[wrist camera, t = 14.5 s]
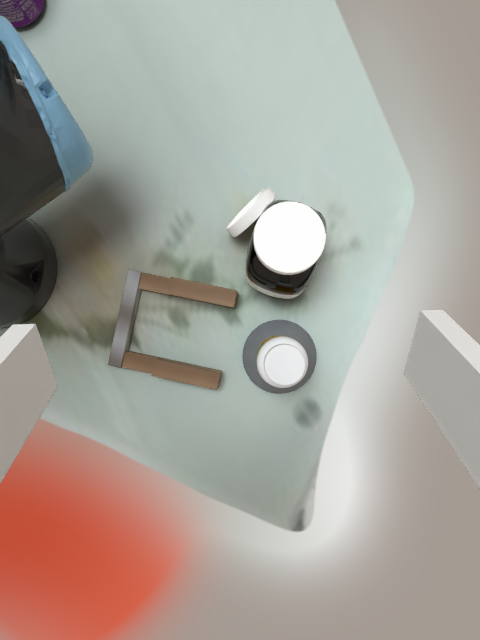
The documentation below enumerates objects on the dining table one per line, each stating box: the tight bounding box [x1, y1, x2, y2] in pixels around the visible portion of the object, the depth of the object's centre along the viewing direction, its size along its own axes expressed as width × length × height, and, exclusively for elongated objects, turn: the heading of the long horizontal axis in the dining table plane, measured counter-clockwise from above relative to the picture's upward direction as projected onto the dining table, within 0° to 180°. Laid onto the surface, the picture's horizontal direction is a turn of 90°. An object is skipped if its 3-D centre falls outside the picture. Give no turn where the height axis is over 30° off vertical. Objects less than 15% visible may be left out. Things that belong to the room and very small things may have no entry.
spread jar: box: [226, 187, 326, 299], centre depth 40 cm, size 12×11×12 cm
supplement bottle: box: [257, 335, 308, 388], centre depth 40 cm, size 5×5×10 cm
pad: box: [243, 320, 316, 393], centre depth 45 cm, size 9×9×1 cm
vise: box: [108, 270, 238, 390], centre depth 45 cm, size 12×14×3 cm
